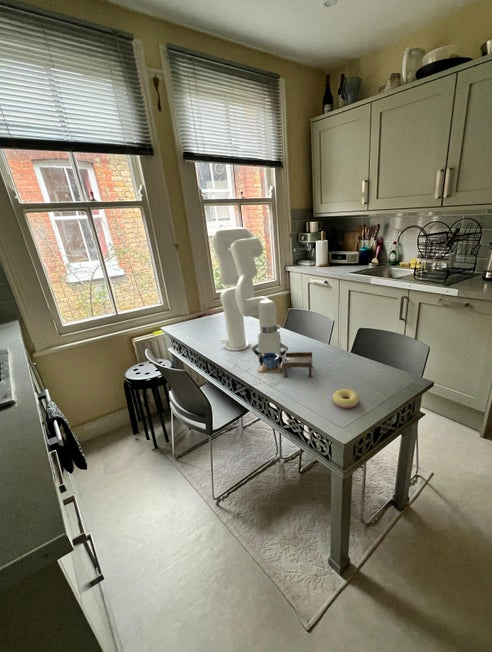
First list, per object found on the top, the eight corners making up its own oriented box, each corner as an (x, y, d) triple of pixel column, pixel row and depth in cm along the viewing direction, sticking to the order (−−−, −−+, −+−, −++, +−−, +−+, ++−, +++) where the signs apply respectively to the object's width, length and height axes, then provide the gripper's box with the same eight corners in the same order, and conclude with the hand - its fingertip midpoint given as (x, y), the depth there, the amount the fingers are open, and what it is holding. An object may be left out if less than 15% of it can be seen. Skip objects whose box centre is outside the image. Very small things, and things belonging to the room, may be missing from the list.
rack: (284, 377, 137) (283, 362, 134) (286, 366, 147) (285, 352, 144) (311, 377, 136) (311, 362, 133) (312, 366, 146) (312, 352, 143)
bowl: (262, 370, 143) (261, 360, 141) (264, 362, 150) (263, 353, 148) (278, 370, 143) (277, 360, 141) (279, 362, 149) (279, 353, 147)
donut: (357, 401, 121) (333, 395, 123) (360, 390, 120) (336, 385, 122) (356, 412, 112) (330, 406, 114) (359, 401, 111) (332, 394, 113)
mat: (258, 372, 143) (258, 371, 142) (262, 362, 152) (262, 361, 151) (280, 372, 142) (280, 371, 141) (282, 362, 151) (282, 361, 150)
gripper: (288, 325, 141) (290, 360, 148) (250, 325, 143) (254, 360, 150) (287, 331, 134) (289, 367, 142) (247, 331, 136) (250, 367, 143)
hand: (270, 363), depth 146 cm, fingers open, 8 cm apart
